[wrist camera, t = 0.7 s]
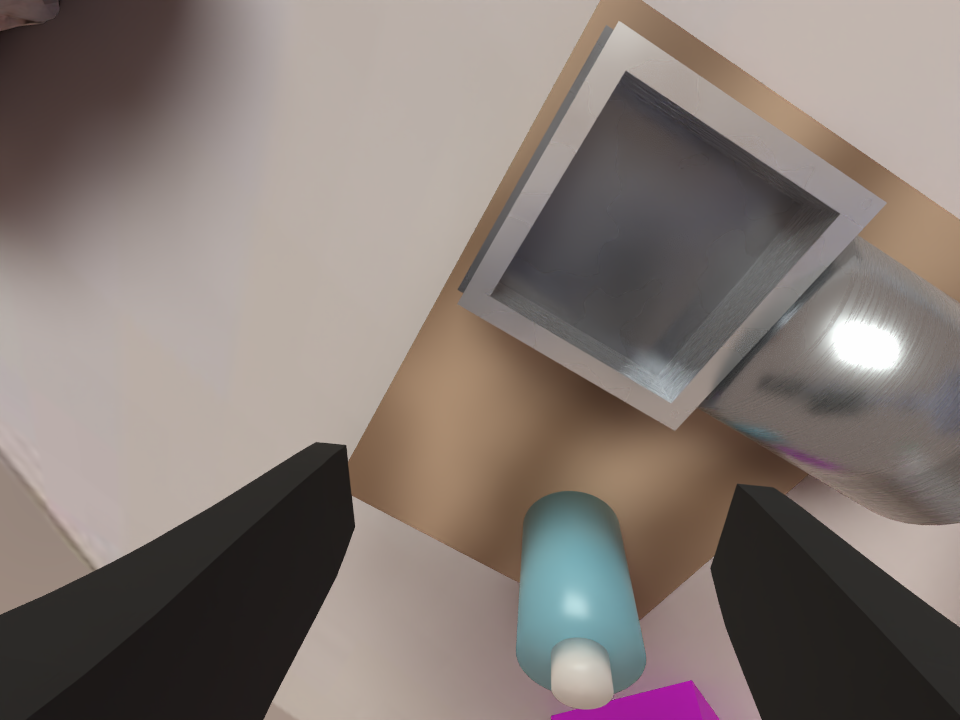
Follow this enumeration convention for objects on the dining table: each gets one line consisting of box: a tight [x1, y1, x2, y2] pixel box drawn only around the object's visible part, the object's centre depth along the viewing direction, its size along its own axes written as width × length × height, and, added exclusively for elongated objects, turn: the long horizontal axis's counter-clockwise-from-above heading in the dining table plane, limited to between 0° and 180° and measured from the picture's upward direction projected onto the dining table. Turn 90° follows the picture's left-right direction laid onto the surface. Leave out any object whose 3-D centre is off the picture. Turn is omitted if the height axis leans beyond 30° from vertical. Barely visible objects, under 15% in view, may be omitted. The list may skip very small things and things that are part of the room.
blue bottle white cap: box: [516, 491, 646, 709], centre depth 17 cm, size 4×4×6 cm
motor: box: [457, 21, 960, 525], centre depth 12 cm, size 14×7×6 cm, turn 60°
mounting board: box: [348, 0, 960, 620], centre depth 17 cm, size 15×20×1 cm
